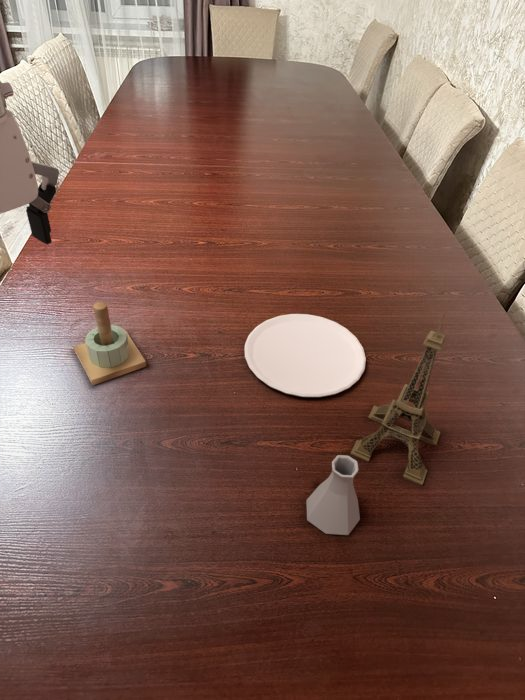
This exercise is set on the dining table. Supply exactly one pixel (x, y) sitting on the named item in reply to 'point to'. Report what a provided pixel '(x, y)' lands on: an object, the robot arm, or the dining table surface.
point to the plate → (305, 355)
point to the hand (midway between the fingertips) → (7, 254)
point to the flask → (336, 499)
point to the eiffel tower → (407, 415)
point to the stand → (106, 338)
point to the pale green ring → (107, 348)
